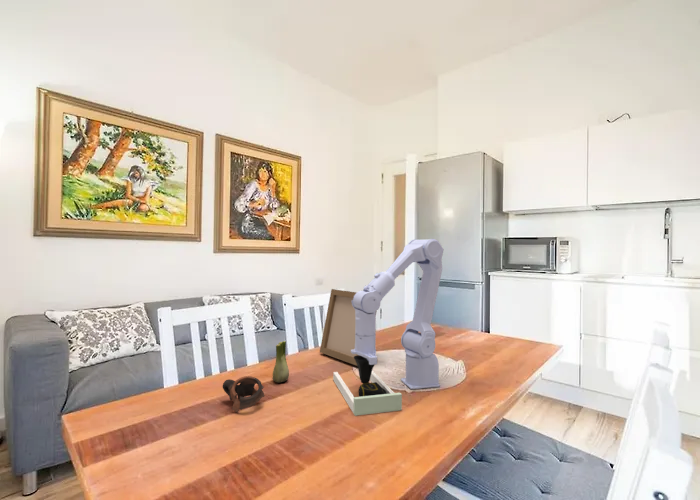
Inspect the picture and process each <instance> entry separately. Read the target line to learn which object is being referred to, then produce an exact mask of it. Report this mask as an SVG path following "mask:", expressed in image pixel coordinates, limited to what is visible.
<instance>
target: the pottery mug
mask: <svg viewBox="0 0 700 500" xmlns="http://www.w3.org/2000/svg"><path fill="white" fill-rule="evenodd" d="M255 385H257V386H258V389H256V388H255ZM264 388H265V386H263V384H262V382H261V380H259V378H256V377H255V376H252V375H247V376H246V375H245V376H241V377H239V378H237V379H236V380H233V379H226V380H224V381H223V383H222V390H223V391H224V393H225V394H227V396H228V397H229V400H230V401H232V402H233V404H232V407H231V409H232V411H233V412H235V413H238V412H240V410H241V411H242V410H245V409H247V408H251V407H254V406H255V405H256V403H259V402H260V401H261V399H262V398H264V397H265V393H264V390H263V389H264Z"/></svg>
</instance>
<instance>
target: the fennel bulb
mask: <svg viewBox="0 0 700 500" xmlns="http://www.w3.org/2000/svg"><path fill="white" fill-rule="evenodd" d="M286 349H287V341H285V340H283V341H280V342H278V343H277V344H276V345H275V352H276V353H275V354H276V355H275V365H274V367H273V370H272V377H271V379H272V381H273V382H274V383H278V384H279V383H280V384H281V383H284V382H286V381H287V380H288V379H289V377H290V369H289V366H288V363H287V357H286V352H287V351H286Z"/></svg>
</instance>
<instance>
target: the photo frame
mask: <svg viewBox="0 0 700 500" xmlns="http://www.w3.org/2000/svg"><path fill="white" fill-rule="evenodd" d="M357 292H358V291H349V290H342V289H335V288H331V289H330V296H329V301H328V307H327V312H326V317H325V321H324V327H323V328H324V329H323V333H322V337H321V338H322V339H321V343H320V348H319V353H321V354H324V355H326V356H329V357H332V358H335V359H338V360H340V361H343V362H346V363H348V364H350V365H354V366H357V363H356V361H355V359H354V356H359V355H357V354H352V353H351V350H352V349H355V309H354V307H353V306H352V302H351V301H352V300H353V298H354V295H355V294H356V293H357ZM377 311H378V310H377ZM377 311H376V313H377ZM357 367H358V366H357Z"/></svg>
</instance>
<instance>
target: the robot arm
mask: <svg viewBox="0 0 700 500" xmlns="http://www.w3.org/2000/svg"><path fill="white" fill-rule="evenodd" d="M443 255H444V248H443V245H441V243H440V241H439V240H438V239H435V238H429V239H428V238H427V239H425V238H424V239H416V238H415V239H411V240H410V241H409V242H408V244H406V245H405V246H404V247H403V251H402V252H401V253H400V254H399V255H398V257H397V258H396V259H395V260H394V261H393V263H391V265H390V266H389V267H388V269H386V270H385V271H379V272H376V273H375V274H374V276H373V277H374V278H372V279H371V281H370V282H369V283H368V284H367V285H364V286H363V290H358V291H356V292H357V293H356V294H355V295H354V298H353V300H352V301H351V302H352V306H353V307H354V309H355V349H352V350H351V353H352V354H357V355H359V356H354V359H355V361H356V363H357V371H358V375H359V380H360V383H361V384H363V383H370V381H371V380H370V377H371V373H372V370H373V369H374V367H375V365H378V356H377V349H376V335H377V334H376V333H377V332H376V328H377V327H376V324H377V323H376V322H377V321H376V319H377V317H376V316H377V312H376V311H379V309H380V306H381V302H382V301H383V299H384V298H385V297H386V296H387V294H388V293H389V292H390V291H391V290H392V289H393V288H394V286H395V280H396V279H397V278H398V277H400V275H401V274H402V273H403V272H404V271H405V270H406V269H408V268H409V266H410V265H412V263H416V264H417V265H418V266H419V267H420V268H421V270H422V276H421V281H420V285H419V290H418V295H417V299H416V304H415V308H414V313H413V318H412V321H410V322H409V323H407V324H406V326H405V330H404V332H403V333H402V335H401V337H400V338H401V339H400V343H401V346H402V348H403V349H404V353H405V377H400V381H401V382H402V383H403V384H404V385H405V386H406V387H408V388H409V389H410V390H417V389H418V390H419V389H428V388H438V387H440V386H441V385H440V383H439V382H440V381H439V376H440V375H439V371H440V370H439V369H440V367H439V366H440V364H439V363H440V362H439V359H438V356H437V355H436V354H434V353H435V349H436V332H435V330H434V329H433V327H432V320H433V316H434V315H433V314H434V312H435V311H434V310H435V305H436V300H437V297H438V292H439V287H440V282H441V277H442V272H443V261H442V260H443V259H442V258H443Z"/></svg>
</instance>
